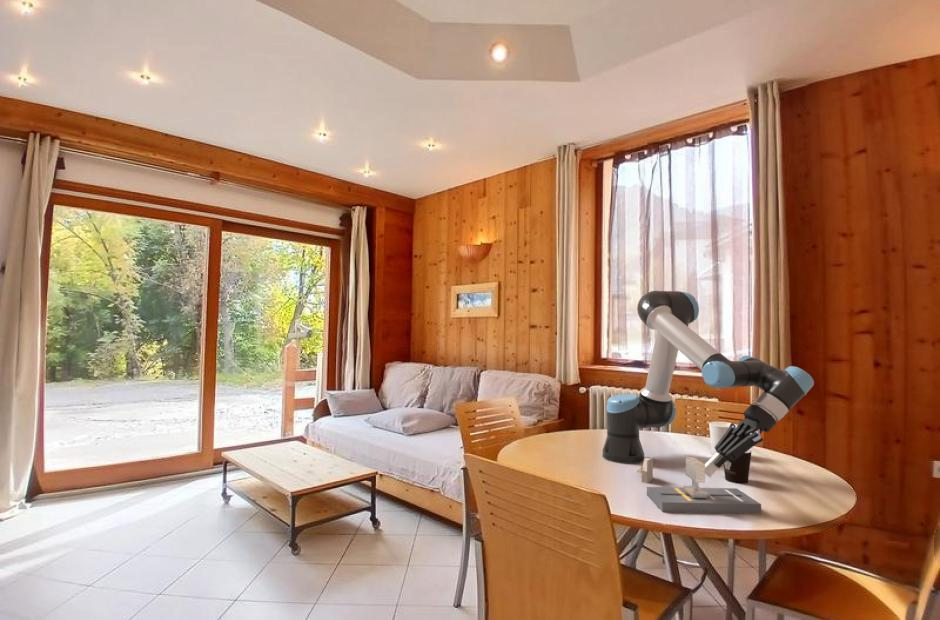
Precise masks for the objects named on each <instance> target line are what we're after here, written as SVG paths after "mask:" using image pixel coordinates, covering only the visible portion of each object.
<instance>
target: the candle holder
mask: <svg viewBox="0 0 940 620" xmlns="http://www.w3.org/2000/svg"><path fill="white" fill-rule="evenodd" d="M731 423H732V422H726V421H710V422H708V425H709V426H708V428H709V440H710V450H711V451H710V452H711V454H712V456H714V454H715V453H716V449H715V446H716V445H717V443H718V442H719V441H720V439H721V438H722V437H723V435H724V434H725V433H726V431H727V430H728V428H729V426H730V424H731ZM733 424H734V425H737V424H735V423H733Z"/></svg>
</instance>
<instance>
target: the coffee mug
mask: <svg viewBox="0 0 940 620" xmlns="http://www.w3.org/2000/svg"><path fill="white" fill-rule="evenodd" d="M752 453H753V452H752V450H751V449H749V450H748V451H746V452H745V453H744V454H743V455H741V456H740V457H739V458H737V459H736V460H735V461H732V460H729V461H726V462H725V463H724V464H723V465H722V466H723V472H724V479H725V480H726V481H727V482H730V483H733V484H738V485H743V484H744V485H746V484H748V483H749V477H750V467H751V460H752Z"/></svg>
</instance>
